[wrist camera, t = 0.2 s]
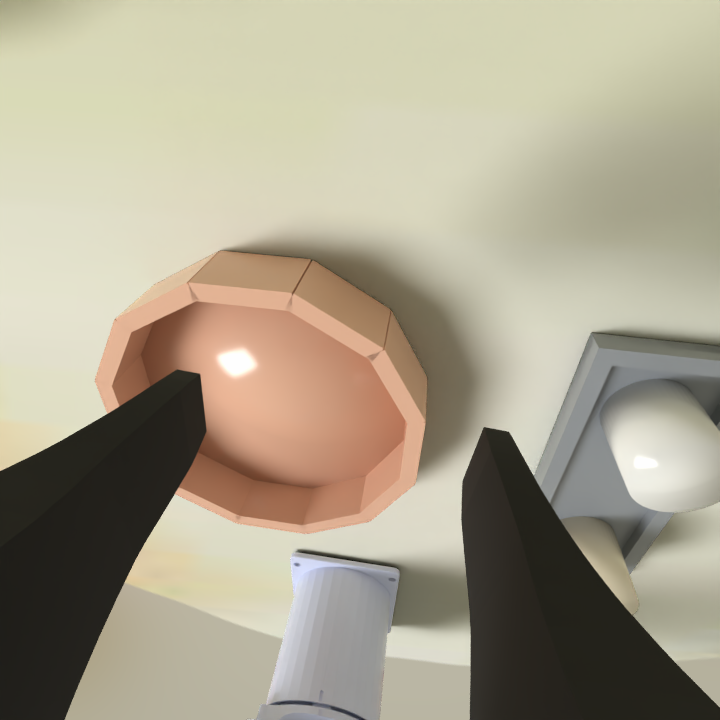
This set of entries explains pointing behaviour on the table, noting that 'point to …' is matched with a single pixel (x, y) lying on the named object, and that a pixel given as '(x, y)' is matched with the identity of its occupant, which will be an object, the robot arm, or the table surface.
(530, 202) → the table surface
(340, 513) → the bowl
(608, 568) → the cream marshmallow
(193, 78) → the table surface
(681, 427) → the pale grey cylinder
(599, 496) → the parts tray
